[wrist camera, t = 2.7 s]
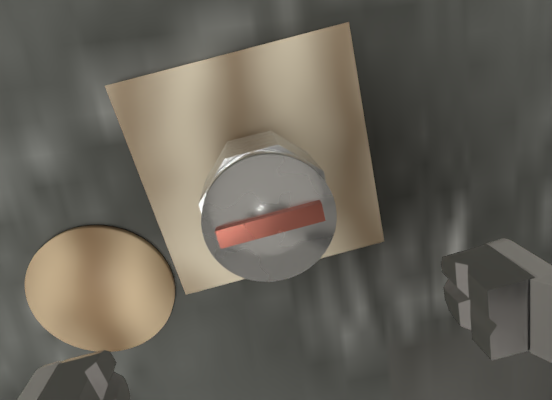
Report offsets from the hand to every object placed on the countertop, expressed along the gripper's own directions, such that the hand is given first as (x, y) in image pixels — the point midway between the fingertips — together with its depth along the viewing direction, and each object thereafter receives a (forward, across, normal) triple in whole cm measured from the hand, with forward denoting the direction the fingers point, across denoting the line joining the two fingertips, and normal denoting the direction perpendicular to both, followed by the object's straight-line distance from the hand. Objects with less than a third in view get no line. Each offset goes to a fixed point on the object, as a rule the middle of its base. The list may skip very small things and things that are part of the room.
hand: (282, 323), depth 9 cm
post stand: (+17, 0, 0) cm, 17 cm away
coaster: (+17, -13, -6) cm, 22 cm away
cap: (+12, 0, 0) cm, 12 cm away
